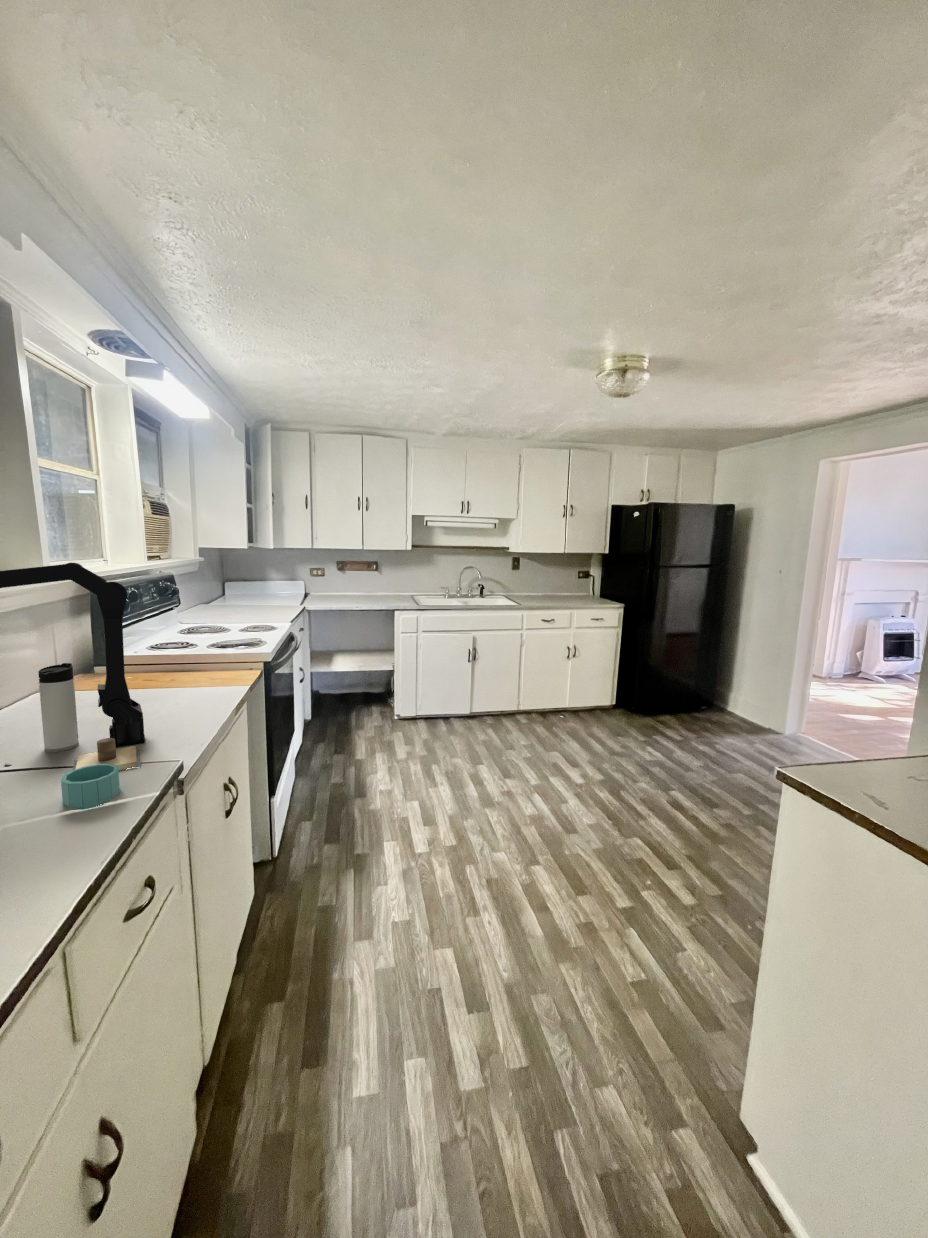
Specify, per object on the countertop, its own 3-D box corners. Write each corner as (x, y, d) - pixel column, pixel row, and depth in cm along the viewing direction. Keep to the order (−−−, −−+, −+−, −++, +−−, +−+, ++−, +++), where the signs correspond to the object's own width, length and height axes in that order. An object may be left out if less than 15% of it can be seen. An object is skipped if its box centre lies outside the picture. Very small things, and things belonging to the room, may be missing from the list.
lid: (135, 750, 114) (134, 729, 113) (136, 766, 105) (135, 743, 105) (79, 760, 108) (77, 737, 107) (75, 778, 100) (73, 753, 99)
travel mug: (86, 744, 119) (81, 663, 116) (62, 754, 112) (55, 669, 110) (63, 742, 119) (57, 662, 117) (37, 753, 113) (30, 668, 110)
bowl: (119, 784, 99) (118, 760, 98) (119, 801, 92) (117, 776, 91) (65, 794, 94) (63, 770, 93) (61, 814, 87) (59, 787, 86)
